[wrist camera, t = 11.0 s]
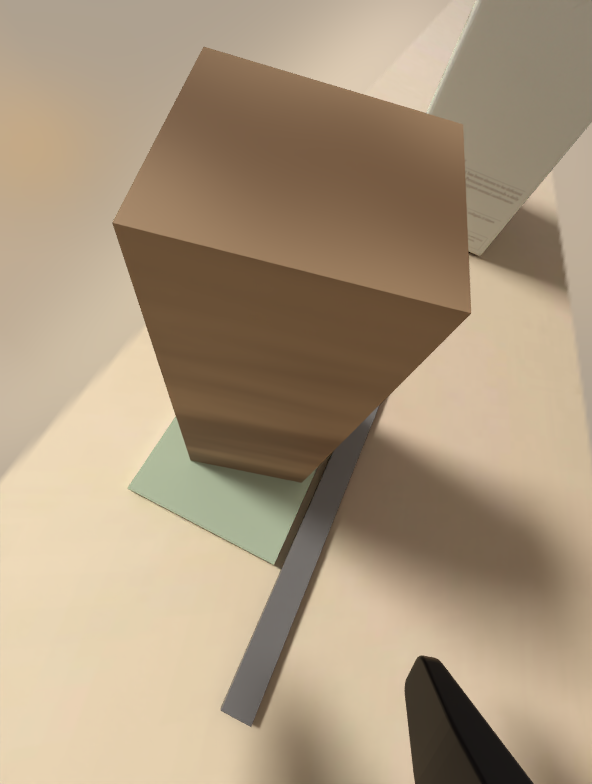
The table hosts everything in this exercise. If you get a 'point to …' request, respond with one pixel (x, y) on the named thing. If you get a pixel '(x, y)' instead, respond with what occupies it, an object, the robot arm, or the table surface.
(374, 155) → the walnut post
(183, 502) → the mat
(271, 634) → the charcoal strip
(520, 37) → the supplement box
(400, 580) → the table surface
